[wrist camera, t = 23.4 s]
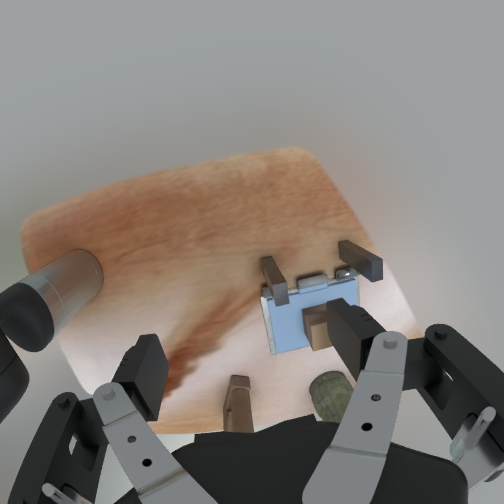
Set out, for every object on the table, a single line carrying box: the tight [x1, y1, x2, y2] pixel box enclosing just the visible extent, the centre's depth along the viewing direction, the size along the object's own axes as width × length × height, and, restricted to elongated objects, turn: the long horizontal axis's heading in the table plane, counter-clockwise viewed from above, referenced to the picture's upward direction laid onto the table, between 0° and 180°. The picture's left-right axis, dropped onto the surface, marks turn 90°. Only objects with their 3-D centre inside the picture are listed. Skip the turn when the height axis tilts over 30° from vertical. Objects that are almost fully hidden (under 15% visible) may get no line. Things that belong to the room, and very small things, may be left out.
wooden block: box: [223, 375, 254, 433], centre depth 43 cm, size 4×11×18 cm, turn 167°
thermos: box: [310, 371, 354, 423], centre depth 36 cm, size 9×12×35 cm
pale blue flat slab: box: [267, 274, 357, 353], centre depth 46 cm, size 16×14×2 cm
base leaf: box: [260, 240, 383, 355], centre depth 41 cm, size 18×19×12 cm
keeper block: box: [301, 303, 333, 351], centre depth 43 cm, size 5×5×6 cm
